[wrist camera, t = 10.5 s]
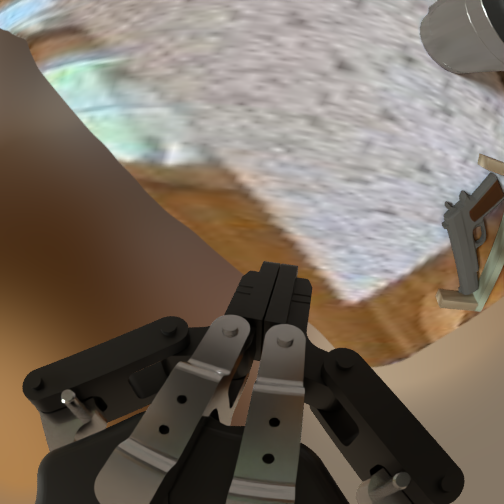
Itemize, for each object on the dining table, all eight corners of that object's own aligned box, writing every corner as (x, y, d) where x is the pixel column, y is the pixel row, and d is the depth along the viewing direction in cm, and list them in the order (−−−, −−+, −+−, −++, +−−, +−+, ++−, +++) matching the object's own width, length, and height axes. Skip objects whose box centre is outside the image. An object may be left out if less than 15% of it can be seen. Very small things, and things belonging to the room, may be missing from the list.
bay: (479, 153, 27) (489, 158, 25) (521, 170, 25) (531, 176, 23) (435, 296, 40) (439, 307, 38) (475, 300, 38) (480, 311, 36)
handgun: (508, 263, 33) (456, 290, 39) (493, 167, 28) (431, 197, 33) (515, 272, 31) (461, 300, 37) (502, 172, 25) (438, 205, 31)
